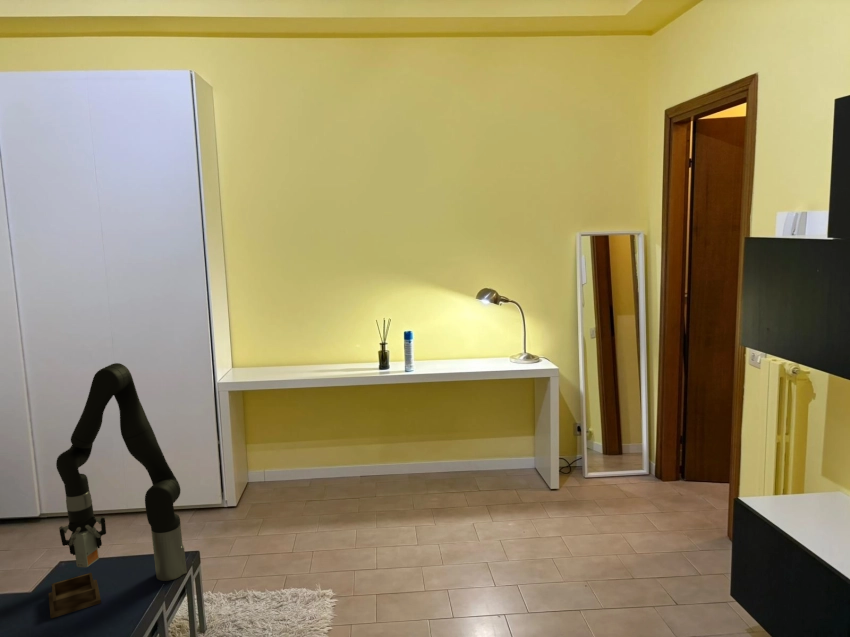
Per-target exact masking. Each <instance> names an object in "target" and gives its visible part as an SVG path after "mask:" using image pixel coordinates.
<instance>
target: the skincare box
mask: <svg viewBox="0 0 850 637" xmlns="http://www.w3.org/2000/svg"><path fill="white" fill-rule="evenodd" d="M95 528H96V527H95V526H94V527H93V529H95ZM71 534H72V533H71ZM72 536H73V534H72ZM98 549H99V548H98V547H97V540H96V536H95V535H93V534H92V533H91V532H90V531H89V530H88V531H84V532H80V533H78V534H76V539H75V540H74V550H75V555H74V556H75V562H76V563H75V564H76V567H77V568H88V567H89V566H91V565H92V564H94V563H95V562H96V561H98V560H99V559H100V556H99V550H98Z"/></svg>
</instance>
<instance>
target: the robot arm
mask: <svg viewBox="0 0 850 637" xmlns="http://www.w3.org/2000/svg"><path fill="white" fill-rule="evenodd" d="M113 396H114V398H115V400H116V403H117V406H118V409H119V410H118V411H119V428H120V434H121V437H122V440H123V442H124V444H125V447H126V448H127V450H128V452H129V454H130V455H131V456H132V457H133V458H134V459H135V460H136V461H138V462H139V463H140V464H141V466H143V467H144V469H145V470H146V471H147V473H148V476H149V478H150V480H151V484H152V486H150V487H149V488H148V490H146V492H145V495H144V505H145V513H146V518H147V522H148V524H149V526H150V531H151V540H152V541H151V542H152V548H153V559H154V566H155V567H154V568H155V574H156V579H157V580H158V581H163V582H165V581H166V582H167V581H168V582H169V581H172V580H176V579H178V578H181V577H183V575H185V574H187V563H186V561H187V560H186V552H185V546H184V545H183V537H182V536H183V535H182V534H183V533H182V526H181V518H180V517H181V516H179V514H177V513H175V509H174V504H175V502H177V501H178V499H179V498H180V495H181V487H180V486H181V485H180V482H179V481H178V479H177V478H176V476H175V473H174V472H173V471H172V469H171V467H170V465H169V464H168V462H167V460H166V458H165V456H164V452H163V451H162V448H161V446H160V444H159V442H158V440H157V437H156V434H155V431H154V430H153V427H152V425H151V423H150V422H149V421H150V420H149V419H148V417H147V415H146V413H145V410H144V407H143V405H142V403H141V401H140V399H139V398H140V397H139V394H138V391H137V389H136V386H135V382H134V379H133V375H132V373H131V372H130V370H129V369H128V367H127V366H126V365H124V364H122V363H118V362H115V363H111V364H109V365H107V366H105V367H103V368H100V369H98V371H96V372H95V374H94V375H93V378H92V381H91V384H90V388H89V392H88V397H87V400H86V402H85V405H84V408H83V411H82V412H81V415H80V417H79V420H78V422H77V424H76V426H75V428H74V430H73V432H72V434H71V437H70V443H71V446H70V447H69V448H68V449H67V450H65V451H63V452H61V453H60V454H59V455H58V456H57V459H56V461H55V462H56V463H55V464H56V470H57V472H58V474H59V477H60V479H61V481H62V482H63V485H64V490H65V491H64V493H65V503H66V504H65V505H66V511H67V512H66V513H67V517H68V525H66V526H62V525H61V526H60V527H59V528H58V529H59V535H60V540H61V544H62V546H68V547H69V548H68V549H69V553H70V555H72V556H75V550H74V540H75V539H76V534H78V533H80V532H84V531H88V530H89V531H90V532H91V533H92V534H93V535H95V536H96V540H97V548H98V549H100V548H101V546H102V545H103V543H102V536H104V535H106V534H107V524H106V517H105V516H104V515H101V516H100V517H97V518H96V517H95V515H94V514H95V513H94V506H93V499H92V495H91V492H90V487H89V479H88V476H87V475H86V474H84V473H80V471H79V468H80V467H82V466H84V465H85V464H86V463H87V461H88V460H89V459H90V456H91V454H92V450H93V443H94V442H95V440H96V438H97V436H98V434H99V432H100V430H101V427H102V423H103V417H104V412H105V410H106V407H107V405H108V404H109V402H110V401H111V399H112V398H113ZM97 522H98V523H97ZM96 523H97V524H99V525H100V528H101V530H100V531H99V530H98V529H97V528H96V527H95V525H96ZM93 527H95V529H93ZM68 530H69V531H71V534H70V537H69V539H66V534H67V531H68ZM72 534H73V536H72Z"/></svg>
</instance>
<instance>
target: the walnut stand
mask: <svg viewBox="0 0 850 637" xmlns="http://www.w3.org/2000/svg"><path fill="white" fill-rule="evenodd" d="M48 602H49V603H48V604H49V605H48V606H49V616H50V619H54V618H58V617H61V616H63V615H68V614H70V613H73V612H78V611H80V610H83V609H87V608H89V607H92V606H96V605H99V604H102V599H101V595H100V588H99V584H98V580H97V579H94V578H93V573H92V572H87V573H86V574H85V573H84V574H82V575H78V576H75V577H72V578H71V577H70V578H68V579H64V580H61V581H57V582H53V583H51V592H48Z"/></svg>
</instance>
